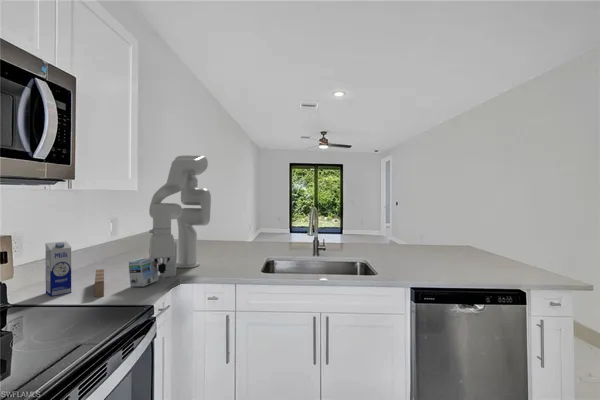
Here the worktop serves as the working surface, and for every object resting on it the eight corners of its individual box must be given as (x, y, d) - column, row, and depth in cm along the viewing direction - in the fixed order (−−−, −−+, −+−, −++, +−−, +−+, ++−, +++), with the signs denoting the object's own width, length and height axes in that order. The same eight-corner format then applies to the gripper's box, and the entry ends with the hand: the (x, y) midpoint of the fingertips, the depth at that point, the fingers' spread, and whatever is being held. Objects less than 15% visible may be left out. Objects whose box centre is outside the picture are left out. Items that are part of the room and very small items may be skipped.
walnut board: (96, 283, 147) (96, 269, 147) (103, 282, 149) (103, 269, 149) (94, 297, 128) (94, 281, 128) (103, 296, 130) (103, 280, 130)
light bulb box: (143, 286, 141) (141, 261, 141) (129, 287, 142) (127, 261, 142) (159, 280, 152) (157, 256, 151) (146, 280, 153) (144, 257, 153)
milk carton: (66, 289, 138) (66, 240, 138) (71, 292, 134) (71, 242, 133) (45, 293, 132) (44, 242, 132) (50, 296, 128) (50, 244, 128)
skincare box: (162, 273, 166) (162, 242, 166) (176, 272, 168) (176, 241, 168) (161, 277, 158) (162, 244, 158) (176, 276, 161) (176, 244, 160)
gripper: (144, 233, 143) (144, 276, 143) (181, 232, 150) (181, 272, 151) (142, 231, 149) (142, 273, 150) (177, 230, 157) (177, 269, 157)
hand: (161, 272), depth 150 cm, fingers closed
